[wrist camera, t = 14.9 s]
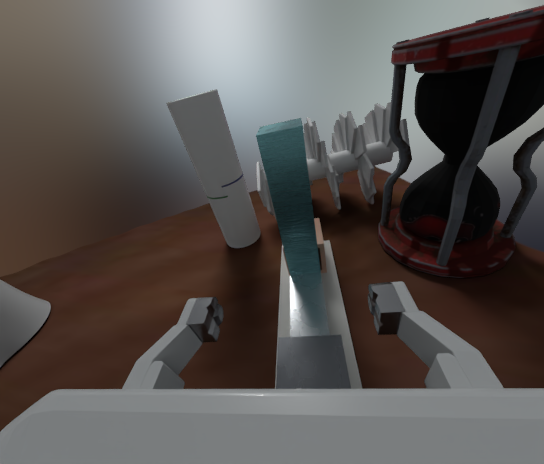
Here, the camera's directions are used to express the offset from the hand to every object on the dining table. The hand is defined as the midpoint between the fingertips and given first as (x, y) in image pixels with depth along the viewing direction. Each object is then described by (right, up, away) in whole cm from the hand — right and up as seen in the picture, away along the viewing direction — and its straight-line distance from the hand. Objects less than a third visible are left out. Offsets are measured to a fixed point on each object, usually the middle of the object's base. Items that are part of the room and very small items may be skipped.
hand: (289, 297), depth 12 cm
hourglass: (+24, +2, +22) cm, 33 cm away
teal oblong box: (+4, -5, +15) cm, 16 cm away
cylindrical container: (-7, +2, +33) cm, 34 cm away
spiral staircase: (+10, +9, +37) cm, 39 cm away
